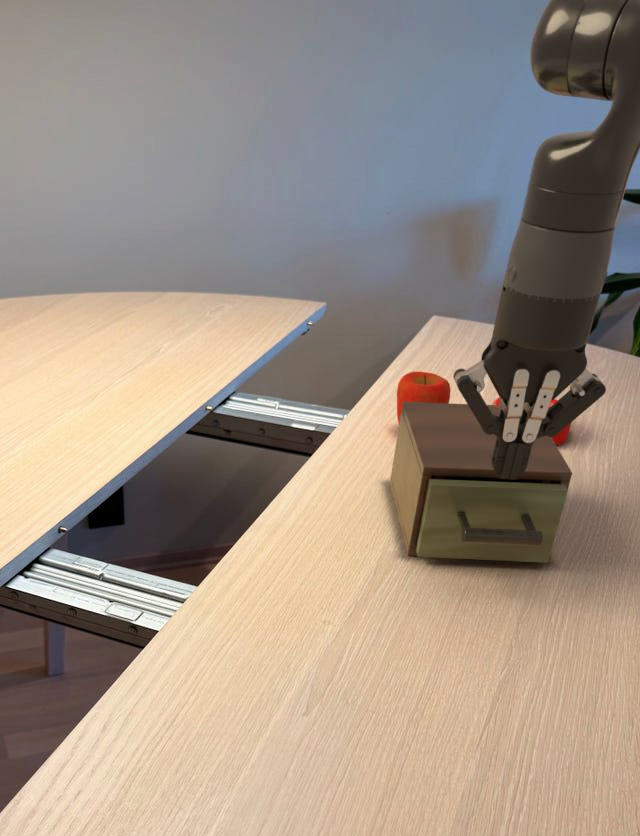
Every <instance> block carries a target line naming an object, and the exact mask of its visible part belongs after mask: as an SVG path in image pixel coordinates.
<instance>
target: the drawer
mask: <svg viewBox="0 0 640 836" xmlns="http://www.w3.org/2000/svg"><path fill="white" fill-rule="evenodd" d="M568 493H569V488H568V489H567V487H566V486H565V485H563V484H551V480H527V479H516V480H513V479H500V478H478V477H453V476H432V477H431V479H429V484H428V490H427V495H426V500H425V505H424V511H423V516H422V521H421V527H420V532H419V537H418V542H417V548H416V552H417V556H416V557H418V558H439V559H460V560H480V561H481V560H483V561H502V562H503V561H504V562H523V563H524V562H525V563H526V562H528V563H547V564H548V563H549V560H550V556H551V553H552V549H553V546H554V542H555V539H556V535H557V532H558V528H559V525H560V520H561V517H562V513H563V511H564V506H565V503H566V499H567V496H568Z"/></svg>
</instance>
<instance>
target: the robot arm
mask: <svg viewBox="0 0 640 836" xmlns="http://www.w3.org/2000/svg"><path fill="white" fill-rule="evenodd" d="M530 44H531V45H530V53H529V55H530V58H529V59H530V60H529V62H530V68H531V73H532V76H533V78H534V80H535V81H536V83H537V84H538V86H539V87H540V88H541V89H543V90H544V91H546V92H548V93H549V94H550V93H551V94H553V95H556V96H562V97H572V98H580V99H590V100H597V101H607V102H611V106H610V108H609V110H608V113H607V115H606V116H605V117H604V119H603V120H602V121H601V123H600V124H599V125H598V127H597V128H595V129H594V130H588V131H578V132H567V133H561V134H555V135H552V136H550V137H547V138H546V139H545V140H543V141H542V142H541V143H540V145H539V146H538V148H537V150H536V152H535V154H534V158H533V161H532V165H531V170H530V174H529V181H528V183H527V188H526V193H525V197H524V201H523V207H522V210H521V217H520V220H519V223H518V224H519V225H518V227H517V230H516V232H515V235H514V239H513V241H512V245H511V248H510V251H509V255H508V261H507V265H506V270H505V274H504V280H503V284H502V289H501V293H500V298H499V302H498V307H497V312H496V316H495V321H494V326H493V330H492V335H491V339H490V341H489V343H488V345H487V346H486V348H485V349H484V350H483V351H482V353H481V358H480V359H481V360H480V361H478V362H477V363H475V364H473V365H471V366H470V367H468V368H466V369H465V368H458V369H456V370H454V372H453V380H454V382H455V385H456V387H457V389H458V391H459V392H460V394H461V396H462V397H463V399H464V401H465V402H466V404H468V406H469V407H470V409H471V411H472V412H473V414H474V416H475V417H476V419H477V420H478V422H479V424H480V425H481V427H482V429H483V430H484V432H485V433H486V434H488V435H492V434H494V435H496V436H497V438H496V443H495V447H494V451H493V456H492V460H491V461H492V466H493V468H494V470H495V473H497V474H498V476H499V478H500V479H513V480H516V479H517V478H518V474H523V473H524V471H525V470H526V468H527V464H528V460H529V456H530V453H531V449H532V445H533V443H534V441H535V440H536V439H538V438H540V437H544V436H548V437H554V436H556V435H557V434H558V433H559V432H561V431H562V430H563V429H564V428H565V427H566V426H568V425H569V424H570V423H571V424H572V422H573V421H575V420H576V419H577V418H578V417H579V416H581V415H582V414H583V413H585V411H586V410H588V409H589V408H590V407H591V406H593V405H594V404H595V403H596V402H598V400H599V399H600V398H602V397H603V396H604V395H605V393H606V392H607V387H606V385H605V384H604V383H603V382H602V380H601V379H600V378H599V376H598V375H597V374H595V373H592V372H590V371H589V369H587V366H588V359H587V354H586V347H587V344H588V341H589V338H590V335H591V330H592V327H593V322H594V320H595V315H596V312H597V309H598V306H599V305H598V304H599V300H600V298H601V293H602V291H603V287H604V285H605V283H606V282H607V278H608V268H609V265H610V261H611V256H612V249H613V243H614V242H613V241H614V234H615V229H616V226H617V221H618V218H619V214H620V211H621V208H622V203H623V200H624V195H625V192H626V189H627V186H628V181H629V178H630V175H631V173H632V170H633V168H634V165H635V162H636V160H637V158H638V155H639V153H640V0H549V1H548V3H547V5H546V6H545V8H544V10H543V12H542V13H541V16H540V17H539V20H538V22H537V24H536V27H535V29H534V33H533V36H532V40H531V43H530ZM486 375H487V376H488V378H489V380H490V382H491V384H492V385H493V387H494V388H495V391H496V393H497V395H498V396H499V397H500V401H499V404H500V410H499V416H496V415H494V414H492V413H491V411H490V410H489V408H488V406H487V405H488V404H487V403H486V401H485V400H484V398H483V396H482V394H481V392H482V391H483V390H484V389H485V387H486V383H485V377H486ZM568 387H569V390H568V391H567V392H566V393H565V394H563V395H562V396H561V397H560V398H559V399H557V400H558V401H557V402H556V403H555V404H553V405H552V406H551V407H550V408H549V405H550V402H551V401H552V400H554V399H556V398H557V397H558V396H560V395H561V394H562V393H563V392H564V391H565V390H566V389H567V388H568ZM548 408H549V409H548Z"/></svg>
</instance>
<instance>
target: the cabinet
mask: <svg viewBox="0 0 640 836" xmlns="http://www.w3.org/2000/svg"><path fill="white" fill-rule="evenodd" d="M486 405H487V406H488V408H489V410H490V411H491V413H492V414H494V415H496V416H499V410H500V405H492V404H486ZM496 438H497V436H496V435H494V434H492V435H488V434H486V433H485V432H484V430H483V429H482V427H481V425H480V424H479V422H478V420H477V419H476V417H475V416H474V414H473V412H472V411H471V409H470V407H469V406H468V404H467V403H450V402H449V403H422V402H403V405H402V411H401V417H400V423H398V430H397V436H396V443H395V449H394V455H393V460H392V467H391V474H390V479H389V486H390V490H391V491H390V492H391V495H392V499H393V502H394V505H395V506H394V507H395V510H396V514H397V518H398V523H399V526H400V530H401V534H402V539H403V542H404V546H405V550H406V554H407V557H418V556H417V552H416V548H417V542H418V537H419V532H420V527H421V521H422V516H423V511H424V505H425V500H426V495H427V490H428V484H429V479H431V477H432V476H453V477H478V478H499V476H498V474H497V473H495V470H494V468H493V466H492V461H491V460H492V456H493V451H494V447H495V443H496ZM572 476H573V472H572V470H571V468H570V466H569V465H568V463H567V461H566V460H565V458H564V456H563V454H562V453H561V451H560V450H559V448H558V445H556V444H555V443H554V441H553V439H552V438H551V437H548V436H544V437H540V438H538V439H536V440H535V441H534V443H533V445H532V449H531V453H530V456H529V460H528V464H527V468H526V470H525V471H524V473H523V474H518V478H517V479H527V480H551V484H563V485H565V486H566V487H567V489H568V490H569V488H570V487H569V486H570V483H571V480H572Z"/></svg>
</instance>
